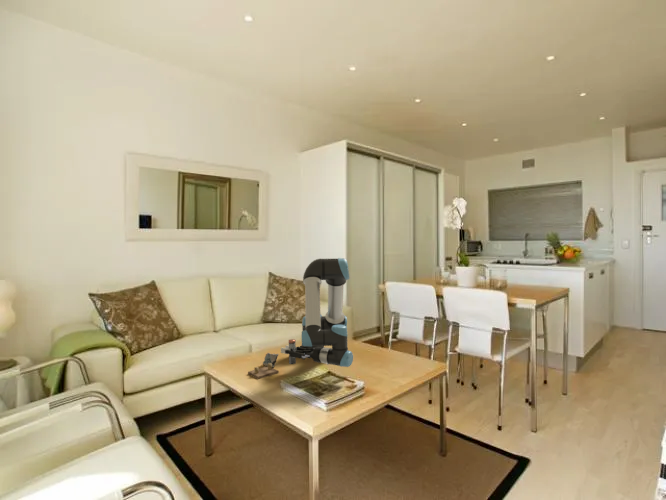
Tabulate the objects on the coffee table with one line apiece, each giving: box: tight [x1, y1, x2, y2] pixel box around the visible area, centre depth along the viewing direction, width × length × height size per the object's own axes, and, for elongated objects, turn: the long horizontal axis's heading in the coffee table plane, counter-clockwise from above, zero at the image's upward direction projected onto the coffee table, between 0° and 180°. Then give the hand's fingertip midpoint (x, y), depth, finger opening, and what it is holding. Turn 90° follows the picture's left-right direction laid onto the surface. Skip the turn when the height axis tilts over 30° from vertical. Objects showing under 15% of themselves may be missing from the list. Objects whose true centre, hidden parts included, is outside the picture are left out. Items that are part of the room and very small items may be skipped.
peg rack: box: [247, 363, 280, 380], centre depth 193 cm, size 12×10×4 cm
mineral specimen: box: [262, 352, 279, 368], centre depth 206 cm, size 10×8×10 cm
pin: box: [288, 338, 297, 365], centre depth 194 cm, size 4×4×12 cm
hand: (283, 349), depth 197 cm, fingers closed on pin, 3 cm apart
